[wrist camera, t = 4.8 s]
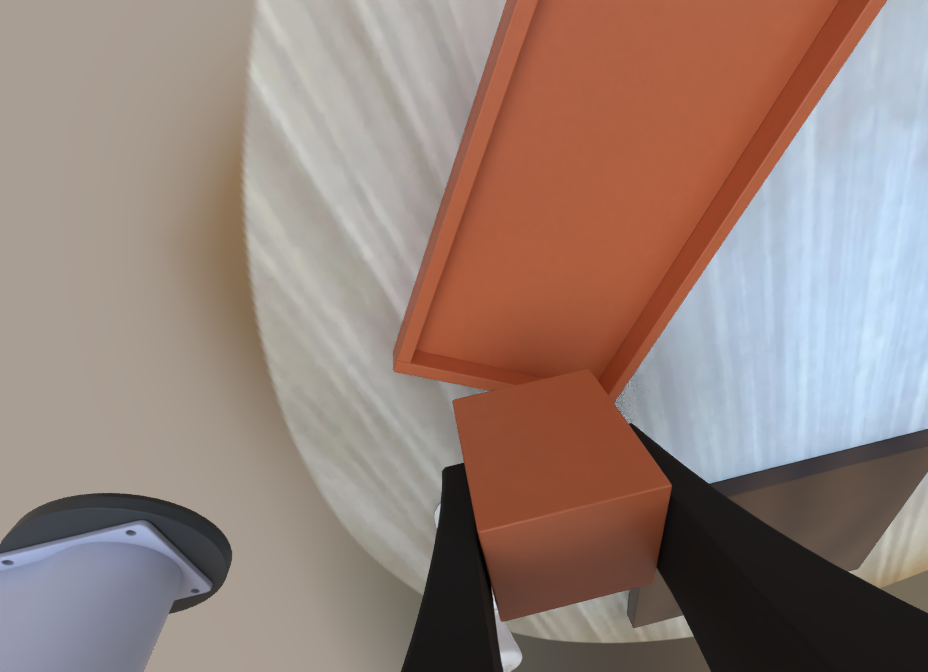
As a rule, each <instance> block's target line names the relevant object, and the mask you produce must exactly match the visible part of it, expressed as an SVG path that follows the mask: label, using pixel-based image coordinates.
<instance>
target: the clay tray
mask: <svg viewBox="0 0 928 672" xmlns="http://www.w3.org/2000/svg"><path fill="white" fill-rule="evenodd" d="M886 1H887V0H507V1H506V4H505V7H504V11H503V14H502V17H501V20H500V23H499V26H498V29H497V32H496V35H495V38H494V41H493V45H492V48H491V51H490V54H489V57H488V60H487V63H486V66H485V69H484V72H483V75H482V78H481V82H480V85H479V88H478V91H477V94H476V97H475V100H474V103H473V106H472V109H471V112H470V116H469V119H468V122H467V125H466V128H465V131H464V134H463V137H462V140H461V143H460V146H459V150H458V153H457V156H456V159H455V162H454V165H453V168H452V171H451V174H450V177H449V180H448V183H447V187H446V190H445V193H444V196H443V199H442V202H441V205H440V208H439V211H438V214H437V217H436V221H435V224H434V227H433V230H432V233H431V236H430V239H429V242H428V245H427V248H426V251H425V255H424V258H423V261H422V264H421V267H420V270H419V273H418V276H417V279H416V282H415V285H414V289H413V292H412V295H411V298H410V301H409V304H408V307H407V310H406V313H405V316H404V319H403V322H402V326H401V329H400V332H399V335H398V338H397V341H396V344H395V347H394V350H393V370H394V372H399V373H404V374H409V375H414V376H419V377H424V378H429V379H434V380H439V381H444V382H449V383H455V384H460V385H465V386H470V387H475V388H480V389H485V390H490V391H494V390H498V389H503V388H507V387H511V386H516V385H520V384H524V383H529V382H533V381H537V380H542V379H546V378H550V377H555V376H559V375H564V374H568V373H572V372H577V371H581V370H585V369H590V371H591V372H592V373H593V375H594V376H595V378H596V379H597V380H598V382H599V383H600V385H601V386H602V387H603V389H604V390H605V392H606V393H607V394H608V396H609V397H610V399H611V400H612V401H613V403H614V402H615V401H616V399H617V398H618V396H619V395H620V394H621V392H622V391H623V389H624V388H625V386H626V385H627V383H628V382H629V380H630V379H631V377H632V376H633V374H634V373H635V371H636V370H637V368H638V367H639V365H640V364H641V363H642V361H643V360H644V358H645V357H646V355H647V354H648V352H649V351H650V349H651V348H652V346H653V345H654V343H655V342H656V340H657V339H658V337H659V336H660V335H661V333H662V332H663V330H664V329H665V327H666V326H667V324H668V323H669V321H670V320H671V318H672V317H673V315H674V314H675V312H676V311H677V309H678V308H679V306H680V305H681V304H682V302H683V301H684V299H685V298H686V296H687V295H688V293H689V292H690V290H691V289H692V287H693V286H694V284H695V283H696V281H697V280H698V278H699V277H700V276H701V274H702V273H703V271H704V270H705V268H706V267H707V265H708V264H709V262H710V261H711V259H712V258H713V256H714V255H715V253H716V252H717V250H718V249H719V247H720V246H721V245H722V243H723V242H724V240H725V239H726V237H727V236H728V234H729V233H730V231H731V230H732V228H733V227H734V225H735V224H736V222H737V221H738V219H739V218H740V216H741V215H742V214H743V212H744V211H745V209H746V208H747V206H748V205H749V203H750V202H751V200H752V199H753V197H754V196H755V194H756V193H757V191H758V190H759V188H760V187H761V186H762V184H763V183H764V181H765V180H766V178H767V177H768V175H769V174H770V172H771V171H772V169H773V168H774V166H775V165H776V163H777V162H778V160H779V159H780V157H781V156H782V155H783V153H784V152H785V150H786V149H787V147H788V146H789V144H790V143H791V141H792V140H793V138H794V137H795V135H796V134H797V132H798V131H799V129H800V128H801V127H802V125H803V124H804V122H805V121H806V119H807V118H808V116H809V115H810V113H811V112H812V110H813V109H814V107H815V106H816V104H817V103H818V101H819V100H820V98H821V97H822V96H823V94H824V93H825V91H826V90H827V88H828V87H829V85H830V84H831V82H832V81H833V79H834V78H835V76H836V75H837V73H838V72H839V70H840V69H841V68H842V66H843V65H844V63H845V62H846V60H847V59H848V57H849V56H850V54H851V53H852V51H853V50H854V48H855V47H856V45H857V44H858V42H859V41H860V39H861V38H862V37H863V35H864V34H865V32H866V31H867V29H868V28H869V26H870V25H871V23H872V22H873V20H874V19H875V17H876V16H877V14H878V13H879V11H880V10H881V8H882V7H883V6H884V4H885V3H886Z"/></svg>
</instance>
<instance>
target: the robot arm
mask: <svg viewBox="0 0 928 672" xmlns="http://www.w3.org/2000/svg"><path fill="white" fill-rule="evenodd" d="M629 425H630V427H631V428H632V430H633V431H634V432H635V434H636V435H637V437H638V438H639V439H640V441H641V442H642V444H643V445H644V446H645V448H646V449H647V451H648V452H649V453H650V455H651V456H652V458H653V459H654V460H655V462H656V463H657V465H658V466H659V467H660V469H661V470H662V472H663V473H664V474H665V476H666V477H667V479H668V480H669V482H670V483H671V485H672V489H671V494H670V499H669V504H668V510H667V515H666V520H665V525H664V530H663V536H662V541H661V546H660V551H659V557H658V562H657V567H656V568H657V569H658V571H659V573H660V574H661V576H662V578H663V579H664V581H665V583H666V584H667V586H668V588H669V590H670V591H671V593H672V595H673V596H674V598H675V600H676V602H677V604H678V606H679V607H680V609H681V611H682V613H683V615H684V617H685V619H686V621H687V623H688V625H689V627H690V629H691V631H692V633H693V635H694V637H695V639H696V641H697V643H698V645H699V647H700V649H701V652H702V654H703V655H704V658H705V660H706V662H707V664H708V666H709V668H710V670H711V672H928V613H926V612H924V611H922V610H920V609H918V608H916V607H914V606H912V605H910V604H908V603H906V602H904V601H902V600H900V599H898V598H896V597H894V596H892V595H890V594H889V593H887V592H885V591H883V590H881V589H879V588H877V587H876V586H874V585H872V584H870V583H868V582H866V581H864V580H862V579H861V578H859V577H857V576H855V575H853V574H851V573H849V572H847V571H846V570H844V569H842V568H840V567H838V566H836V565H834V564H833V563H831V562H829V561H828V560H826V559H824V558H822V557H821V556H819V555H817V554H815V553H814V552H812V551H810V550H809V549H807V548H805V547H803V546H802V545H800V544H798V543H797V542H795V541H794V540H792V539H790V538H789V537H787V536H785V535H784V534H782V533H781V532H779V531H777V530H776V529H774V528H773V527H771V526H769V525H768V524H766V523H765V522H763V521H762V520H760V519H759V518H757V517H756V516H754V515H753V514H751V513H750V512H748V511H747V510H745V509H744V508H742V507H741V506H739V505H738V504H736V503H735V502H734V501H732V500H731V499H729V498H728V497H726V496H725V495H724V494H722V493H721V492H719V491H718V490H717V489H715V488H714V487H712V486H711V485H710V484H708V483H707V482H706V481H704V480H703V479H702V478H700V477H699V476H698V475H696V474H695V473H694V472H692V471H691V470H690V469H688V468H687V467H686V466H684V465H683V464H682V463H681V462H679V461H678V460H677V459H675V458H674V457H673V456H672V455H670V454H669V453H668V452H667V451H665V450H664V449H663V448H662V447H660V446H659V445H658V444H657V443H655V442H654V441H653V440H652V439H651V438H649V437H648V436H647V435H646V434H644V433H643V432H642V431H641V430H640V429H638V428H637V427H636V426H635V425H633V424H632V423H630V424H629ZM212 584H213V583H212V582H211V581H210V580H209V579H208V578H207V577H206V576H205V575H204V574H203V573H202V572H201V571H200V570H199V569H198V568H197V567H196V566H195V565H194V564H193V563H192V562H191V561H190V560H189V559H188V558H187V557H186V556H185V555H184V554H183V553H181V552H180V551H179V550H178V549H177V548H176V547H175V546H174V545H173V544H172V543H171V542H170V541H169V540H168V539H167V538H166V537H165V536H164V535H163V534H162V533H161V532H160V531H159V530H158V529H157V528H156V527H155V526H154V525H153V524H152V523H150V522H149V521H146V520H138V521H133V522H129V523H125V524H121V525H117V526H113V527H108V528H104V529H100V530H96V531H92V532H88V533H83V534H79V535H75V536H71V537H67V538H63V539H58V540H54V541H50V542H46V543H42V544H38V545H33V546H29V547H25V548H21V549H17V550H13V551H9V552H4V553H0V672H144V670H145V667H146V665H147V663H148V660H149V658H150V656H151V654H152V651H153V649H154V646H155V644H156V642H157V639H158V637H159V635H160V632H161V630H162V628H163V626H164V623H165V621H166V619H167V616H168V614H169V612H170V609H171V607H172V605H173V602H174V600H178V599H182V598H186V597H190V596H194V595H198V594H202V593H206V592H208V591H210V590H211V587H212ZM401 672H503V667H502V661H501V655H500V649H499V643H498V635H497V627H496V619H495V611H494V603H493V595H492V587H491V583H490V579H489V575H488V571H487V567H486V563H485V559H484V555H483V551H482V547H481V544H480V540H479V536H478V532H477V526H476V521H475V516H474V511H473V506H472V501H471V495H470V490H469V485H468V480H467V475H466V470H465V464H464V463H461V464H457V465H453V466H449V467H445V468H444V469H443V471H442V495H441V505H440V513H439V521H438V527H437V533H436V539H435V545H434V550H433V555H432V560H431V565H430V569H429V573H428V578H427V582H426V587H425V591H424V595H423V599H422V603H421V607H420V610H419V614H418V618H417V622H416V625H415V628H414V632H413V635H412V639H411V642H410V645H409V649H408V651H407V655H406V658H405V661H404V664H403V667H402V670H401Z"/></svg>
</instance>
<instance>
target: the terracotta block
mask: <svg viewBox="0 0 928 672" xmlns="http://www.w3.org/2000/svg"><path fill="white" fill-rule="evenodd" d="M453 407H454V413H455V418H456V423H457V428H458V433H459V438H460V444H461V449H462V454H463V459H464V464H465V470H466V475H467V480H468V485H469V490H470V495H471V501H472V506H473V511H474V516H475V521H476V526H477V532H478V536H479V540H480V544H481V547H482V551H483V555H484V559H485V563H486V567H487V571H488V575H489V579H490V583H491V586H492V590H493V594H494V598H495V602H496V606H497V610H498V614H499V618H500V621H501V622H504V621H508V620H512V619H516V618H520V617H523V616H527V615H531V614H535V613H539V612H543V611H547V610H551V609H555V608H559V607H563V606H567V605H570V604H574V603H578V602H582V601H586V600H590V599H594V598H598V597H602V596H606V595H610V594H613V593H617V592H621V591H625V590H629V589H633V588H637V587H641V586H645V585H649V584H653V583H654V577H655V572H656V567H657V562H658V557H659V551H660V546H661V541H662V536H663V530H664V525H665V520H666V515H667V510H668V504H669V499H670V494H671V489H672V485H671V483H670V482H669V480H668V479H667V477H666V476H665V474H664V473H663V472H662V470H661V469H660V467H659V466H658V465H657V463H656V462H655V460H654V459H653V458H652V456H651V455H650V453H649V452H648V451H647V449H646V448H645V446H644V445H643V444H642V442H641V441H640V439H639V438H638V437H637V435H636V434H635V432H634V431H633V430H632V428H631V427H630V425H629V424H628V423H627V421H626V420H625V418H624V417H623V416H622V414H621V413H620V411H619V410H618V409H617V407H616V406H615V404H614V403H613V401H612V400H611V399H610V397H609V396H608V394H607V393H606V392H605V390H604V389H603V387H602V386H601V385H600V383H599V382H598V380H597V379H596V378H595V376H594V375H593V373H592V372H591V371H590V369H585V370H581V371H577V372H572V373H568V374H564V375H559V376H555V377H550V378H546V379H542V380H537V381H533V382H529V383H524V384H520V385H516V386H511V387H507V388H503V389H498V390H494V391H490V392H485V393H481V394H477V395H472V396H468V397H464V398H459V399H455V400H453Z"/></svg>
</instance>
